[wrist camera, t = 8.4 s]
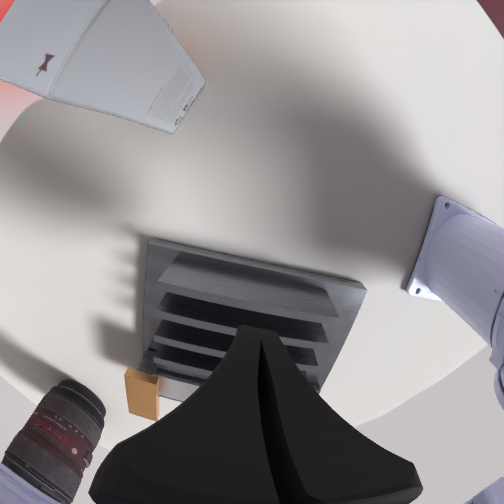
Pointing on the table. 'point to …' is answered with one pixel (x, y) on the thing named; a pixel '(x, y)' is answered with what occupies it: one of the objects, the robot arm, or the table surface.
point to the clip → (177, 384)
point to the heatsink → (233, 315)
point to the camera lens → (58, 441)
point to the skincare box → (100, 58)
